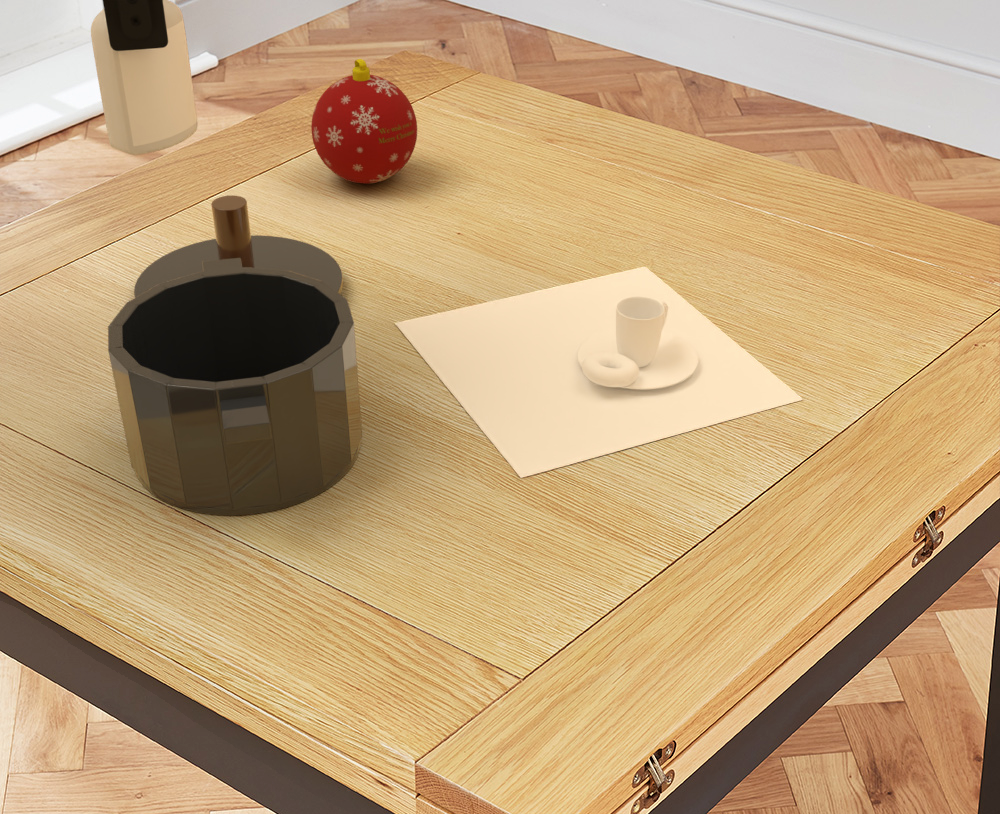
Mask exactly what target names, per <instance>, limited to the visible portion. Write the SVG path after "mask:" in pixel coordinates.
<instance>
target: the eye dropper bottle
mask: <svg viewBox="0 0 1000 814" xmlns="http://www.w3.org/2000/svg"><path fill="white" fill-rule="evenodd" d="M163 7H164V14H165V21H166V28H167V35H168V44H167V46H166V47H164V48H154V49H141V50H127V51H115V50H113V49H112V48H111V46H110V41H109V35H108V29H107V23H106V17H105V11H104V8H102V10H100V11H99V12H98V13H97V14H96V16H95V17H94V18H93V21H92V22H91V26H90V37H91V44H92V49H93V50H92V51H93V58H94V63H95V69H96V75H97V81H98V86H99V92H100V98H101V104H102V105H101V106H102V109H103V116H104V121H105V127H106V132H107V139H108V143H109V145H110V147H112V148H113V149H114V150H117V151H119V152H121V153H125V154H128V155H131V156H141V155H147V154H152V153H157V152H160V151H163V150H166V149H169V148H171V147H174V146H176V145H179V144H181V143H183V142H185V141H186V140H187V139H189V138H191V137H192V136H193V135H194V134H195V133H196V132H197V130H198V126H199V125H198V124H199V122H198V116H197V114H198V113H197V107H196V100H195V94H194V93H195V92H194V86H193V85H194V84H193V76H192V70H191V69H192V68H191V62H190V55H189V48H188V41H187V33H186V26H185V21H184V16H183V12H182V10H181V8H180V7H179V6H178V5H177V4H175V2H173V1H171V0H163Z"/></svg>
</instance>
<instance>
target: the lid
mask: <svg viewBox="0 0 1000 814" xmlns="http://www.w3.org/2000/svg"><path fill="white" fill-rule="evenodd" d="M210 206H211V212H212V213H211V214H212V221H213V227H214V233H215V234H214V235H215V238H212V239H206V240H202V241H199V242H195V243H191V244H188V245H186V246H185V245H184V246H182V247H179V248H177V249H175V250H173V251H170V252H169V253H166V254H163V256H161V257H159V258H158V259H156V260H155V261H153V262H152V263H150V264H149V265H148V266H147V267H146V268H145V269H144V270H143V271H142V272H141V273H140V275H139V276H138V277H137V280H136V282H135V284H134V289H133V295H134V298H136V297H137V296H139V295H141V294H143V293H144V292H146V291H148V290H149V289H151V288H153V287H155V286H156V285H158V284H161V283H164V282H167V281H171V280H174V279H177V278H181V277H184V276H187V275H191V274H194V273H198V272H203V267H202V262H203V261H213V260H222V259H232V258H241V262H242V267H245V268H246V267H251V268H263V269H276V270H287V271H291V272H294V273H298V274H301V275H304V276H307V277H310V278H313V279H317V280H320V281H323V282H325V283H326V284H328V285H329V286H330V287H331V288H333V289H334V290H335V291H337V292H338V293H339V294H340V295H342V291H343V287H344V279H343V271H342V269H341V267H340V264H339V263H338V261H336V259H335V258H334V257H333V256H331V254H329V252H326V251H325V250H323V249H321V248H319V247H317V246H315V245H313V244H310V243H308V242H305V241H301V240H297V239H293V238H287V237H282V236H273V235H260V234H259V235H256V234H255V235H254V234H253V235H252V234H251V233H252V232H251V226H250V217H249V216H250V215H249V209H248V208H249V207H248V201H247V199H246V198H245V197H243V196H240V195H234V194H233V195H232V194H231V195H223V196H219V197H217V198H215V199H213V200H212V202H211V204H210Z"/></svg>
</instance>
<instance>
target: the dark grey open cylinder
mask: <svg viewBox="0 0 1000 814" xmlns="http://www.w3.org/2000/svg"><path fill="white" fill-rule="evenodd" d="M202 267H203V272H198V273H194V274H191V275H187V276H184V277H181V278H177V279H174V280H171V281H167V282H164V283H161V284H158V285H156V286H155V287H153V288H151V289H149V290H148V291H146V292H144V293H143V294H141V295H139V296H137V297H136V298H135V297H134V298H132V299H131V300H129V301H127V302H126V303H125V304H124V305H123V307H122V308H121V309H120V310H119V312H118V313H117V314H116V315H115V316H114V318H113V319H112V321H111V322H110V323H109V324H108V326H107V351H108V356H109V361H110V365H111V370H112V375H113V382H114V387H115V392H116V396H117V400H118V406H119V409H120V410H119V411H120V417H121V421H122V426H123V431H124V437H125V441H126V445H127V450H128V456H129V461H130V465H131V468H132V469H133V470H134V471H133V472H134V473H135V476H136V478H137V479H138V481H139V482H140V484H141V485H142V486H143V487H144V489H146V490H147V491H148V492H149V493H150V494H151V495H153V496H154V497H156V498H157V499H159V500H160V501H162V502H164V503H166V504H169V505H171V506H174V507H175V508H179V509H182V510H186V511H189V512H194V513H198V514H206V515H213V516H247V515H256V514H263V513H270V512H274V511H278V510H282V509H285V508H290V507H293V506H295V505H298V504H301V503H304V502H306V501H309V500H310V499H312V498H314V497H317V496H319V495H320V494H322V493H323V492H325V491H327V490H328V489H330V488H331V487H332V486H334V485H335V484H337V483H338V482H339V481H340V480H341V479H342V478H344V476H345V475H347V473H348V472H349V471H350V470H351V468H352V467H353V466H354V464H355V462H356V460H357V459H358V455H359V453H360V450H361V442H362V438H363V429H362V415H361V400H360V385H359V374H358V360H357V359H358V358H357V345H356V334H355V333H356V332H355V321H354V318H353V315H352V312H351V308H350V304H349V301H348V299H347V298H346V297H345V296H344V295H342V294H339V293H338V292H337V291H335V290H334V289H333V288H331V287H330V286H329V285H328V284H326V283H325V282H323V281H320V280H317V279H313V278H310V277H307V276H304V275H301V274H298V273H294V272H291V271H287V270H276V269H263V268H251V267H246V268H245V267H242V262H241V258H232V259H222V260H213V261H203V262H202Z"/></svg>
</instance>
